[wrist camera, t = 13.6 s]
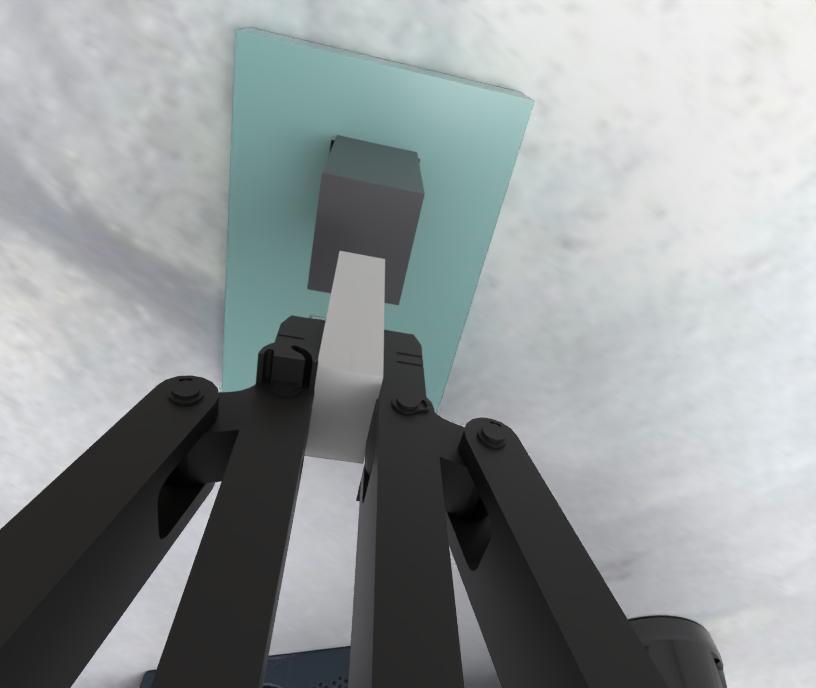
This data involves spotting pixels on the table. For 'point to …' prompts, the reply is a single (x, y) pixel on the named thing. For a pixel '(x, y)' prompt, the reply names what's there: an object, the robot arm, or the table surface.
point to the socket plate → (301, 177)
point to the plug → (367, 211)
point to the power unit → (300, 670)
